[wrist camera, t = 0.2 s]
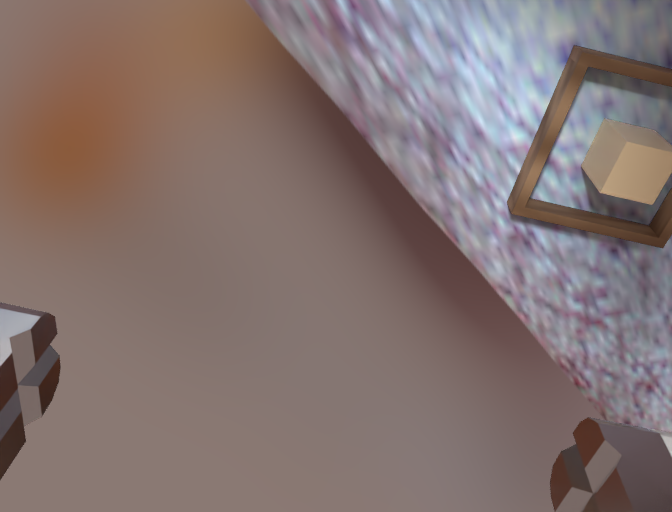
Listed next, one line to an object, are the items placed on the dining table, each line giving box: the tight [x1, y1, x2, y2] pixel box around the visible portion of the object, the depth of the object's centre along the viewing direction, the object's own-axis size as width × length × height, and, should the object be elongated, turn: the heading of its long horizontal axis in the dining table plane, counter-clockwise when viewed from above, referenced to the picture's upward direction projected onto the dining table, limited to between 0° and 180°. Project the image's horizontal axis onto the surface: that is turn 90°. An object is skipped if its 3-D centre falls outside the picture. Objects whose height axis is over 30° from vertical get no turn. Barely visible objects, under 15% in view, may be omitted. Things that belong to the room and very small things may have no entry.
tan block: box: [581, 118, 672, 205], centre depth 53 cm, size 5×5×6 cm
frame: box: [507, 45, 672, 248], centre depth 54 cm, size 16×16×2 cm
